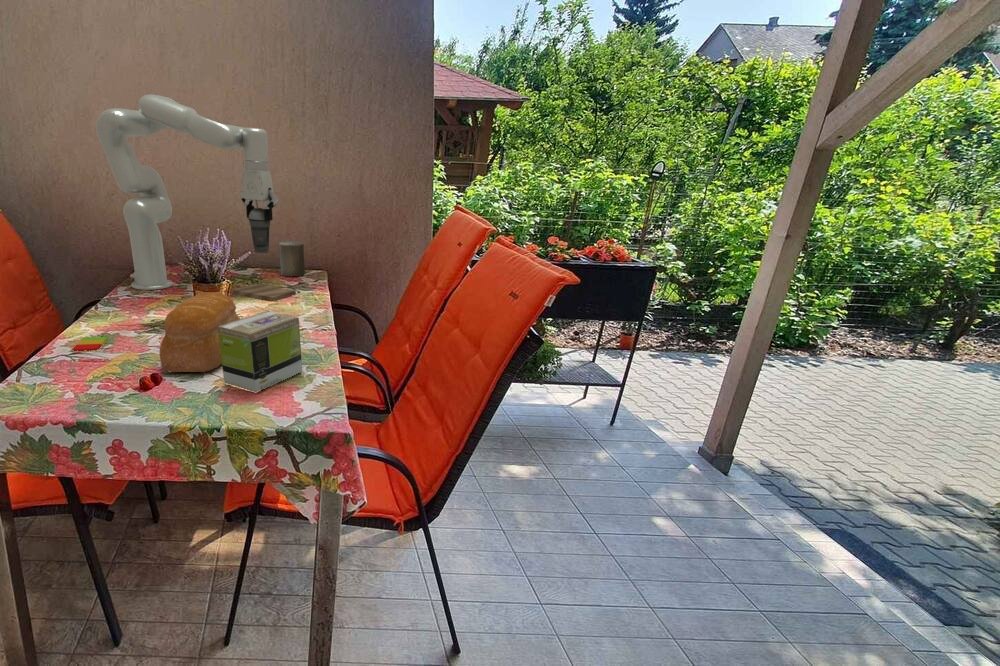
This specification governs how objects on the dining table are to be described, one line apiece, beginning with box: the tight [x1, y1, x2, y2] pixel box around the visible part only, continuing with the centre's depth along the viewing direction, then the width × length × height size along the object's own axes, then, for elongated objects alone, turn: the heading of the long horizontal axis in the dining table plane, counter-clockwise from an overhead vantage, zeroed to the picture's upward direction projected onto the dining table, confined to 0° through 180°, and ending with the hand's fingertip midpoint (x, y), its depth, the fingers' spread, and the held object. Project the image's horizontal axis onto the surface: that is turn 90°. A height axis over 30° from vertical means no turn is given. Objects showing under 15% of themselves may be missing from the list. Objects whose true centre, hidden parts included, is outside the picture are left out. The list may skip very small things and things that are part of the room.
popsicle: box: [72, 336, 109, 351], centre depth 139 cm, size 6×15×2 cm, turn 21°
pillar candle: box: [278, 239, 306, 278], centre depth 225 cm, size 10×10×15 cm
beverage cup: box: [247, 201, 271, 254], centre depth 187 cm, size 7×7×20 cm
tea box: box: [218, 310, 303, 392], centre depth 124 cm, size 15×10×15 cm, turn 157°
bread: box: [159, 291, 241, 373], centre depth 135 cm, size 14×26×15 cm, turn 9°
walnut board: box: [231, 283, 297, 302], centre depth 195 cm, size 18×12×2 cm, turn 71°
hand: (259, 218), depth 187 cm, fingers closed on beverage cup, 7 cm apart
